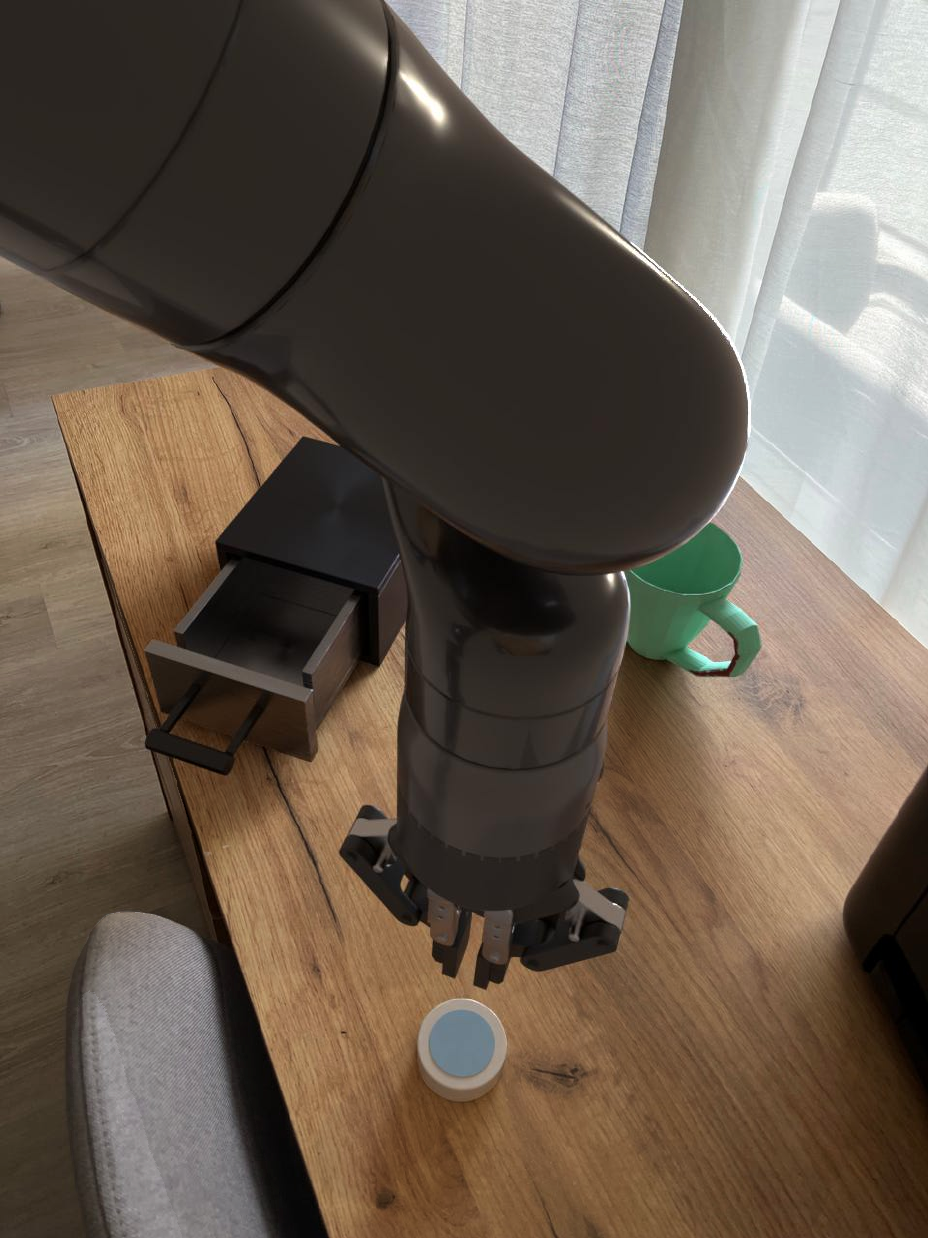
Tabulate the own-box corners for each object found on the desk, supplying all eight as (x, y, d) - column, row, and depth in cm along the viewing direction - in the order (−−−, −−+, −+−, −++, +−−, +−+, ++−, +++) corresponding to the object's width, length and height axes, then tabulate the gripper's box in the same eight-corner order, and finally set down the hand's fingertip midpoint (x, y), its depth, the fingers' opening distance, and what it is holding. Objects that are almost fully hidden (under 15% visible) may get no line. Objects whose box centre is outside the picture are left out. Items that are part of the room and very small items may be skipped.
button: (464, 1122, 54) (466, 1110, 53) (398, 1058, 56) (398, 1045, 55) (521, 1052, 57) (525, 1039, 56) (456, 994, 59) (458, 980, 58)
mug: (574, 619, 82) (591, 531, 75) (664, 585, 86) (689, 497, 79) (679, 742, 74) (710, 656, 67) (775, 698, 77) (814, 612, 70)
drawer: (274, 827, 66) (264, 767, 61) (116, 771, 68) (94, 709, 63) (386, 633, 79) (386, 570, 74) (251, 592, 81) (241, 529, 76)
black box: (379, 667, 77) (378, 588, 71) (228, 620, 80) (214, 541, 74) (444, 551, 88) (448, 473, 81) (309, 513, 90) (302, 435, 84)
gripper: (287, 787, 35) (316, 987, 47) (654, 911, 32) (582, 1089, 44) (370, 645, 40) (376, 860, 52) (693, 742, 37) (618, 944, 49)
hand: (471, 965), depth 48 cm, fingers closed
